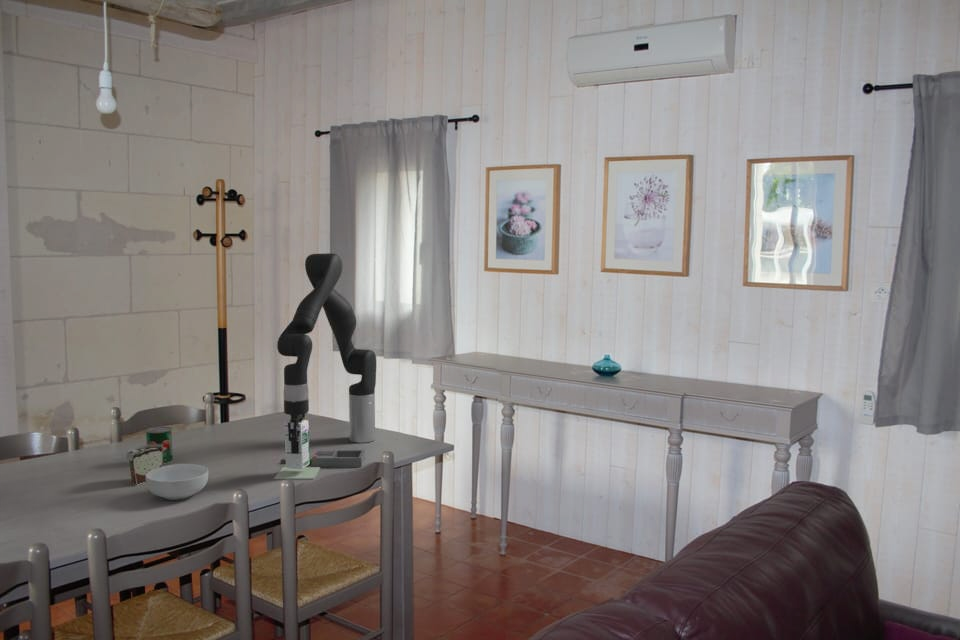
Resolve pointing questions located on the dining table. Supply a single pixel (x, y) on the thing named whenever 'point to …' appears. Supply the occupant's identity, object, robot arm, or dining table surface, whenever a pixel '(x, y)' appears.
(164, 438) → the canned tomato
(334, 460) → the rectangular frying pan
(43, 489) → the dining table surface
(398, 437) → the dining table surface
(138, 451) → the slice of cake
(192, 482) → the cereal bowl
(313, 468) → the sage mat
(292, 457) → the syrup box
